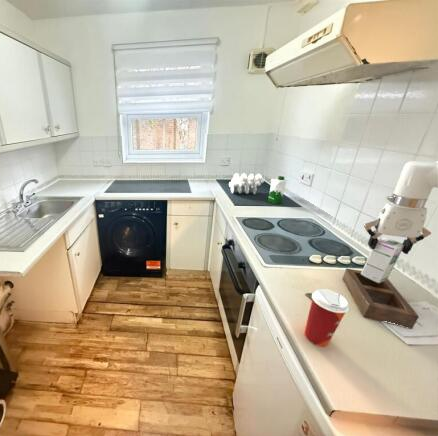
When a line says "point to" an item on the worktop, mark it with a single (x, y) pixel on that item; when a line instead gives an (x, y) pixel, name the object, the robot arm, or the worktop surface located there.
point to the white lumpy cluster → (246, 182)
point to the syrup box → (382, 260)
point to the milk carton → (276, 190)
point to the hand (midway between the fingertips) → (387, 249)
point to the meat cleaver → (309, 295)
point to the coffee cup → (324, 316)
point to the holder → (379, 299)
